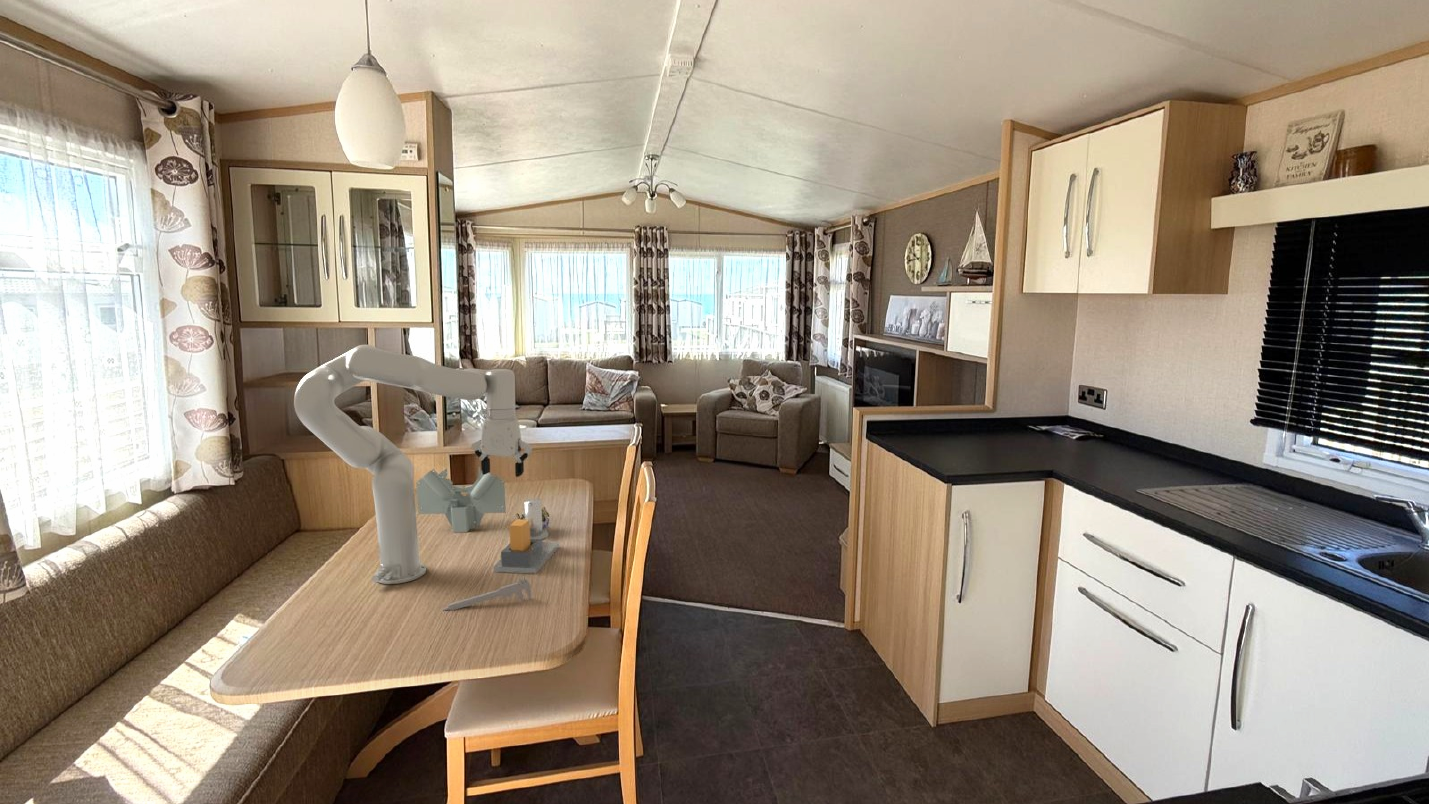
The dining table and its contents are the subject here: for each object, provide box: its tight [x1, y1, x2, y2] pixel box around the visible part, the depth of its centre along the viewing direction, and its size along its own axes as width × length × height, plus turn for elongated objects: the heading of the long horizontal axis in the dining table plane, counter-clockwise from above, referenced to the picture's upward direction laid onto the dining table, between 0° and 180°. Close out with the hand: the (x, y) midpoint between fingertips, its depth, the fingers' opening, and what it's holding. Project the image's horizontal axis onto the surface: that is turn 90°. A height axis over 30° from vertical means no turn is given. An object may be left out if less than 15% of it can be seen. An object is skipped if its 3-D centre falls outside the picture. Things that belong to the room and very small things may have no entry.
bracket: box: [415, 467, 507, 533], centre depth 214 cm, size 28×7×20 cm, turn 93°
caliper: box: [442, 576, 532, 612], centre depth 163 cm, size 20×1×6 cm, turn 107°
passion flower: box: [515, 506, 550, 531], centre depth 211 cm, size 11×11×12 cm
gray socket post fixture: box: [493, 497, 560, 575], centre depth 190 cm, size 19×12×16 cm, turn 174°
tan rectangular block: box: [509, 518, 530, 551], centre depth 186 cm, size 5×4×11 cm
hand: (502, 474), depth 187 cm, fingers open, 9 cm apart
